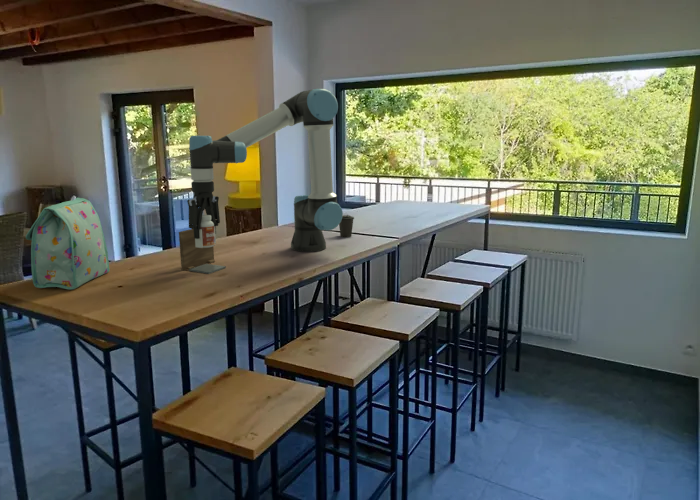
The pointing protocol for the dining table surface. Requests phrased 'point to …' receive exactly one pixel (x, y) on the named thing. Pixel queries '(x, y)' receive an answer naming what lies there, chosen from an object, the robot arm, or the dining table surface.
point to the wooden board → (193, 251)
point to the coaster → (207, 268)
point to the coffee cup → (346, 226)
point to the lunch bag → (67, 245)
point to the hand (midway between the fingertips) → (205, 245)
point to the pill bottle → (207, 231)
